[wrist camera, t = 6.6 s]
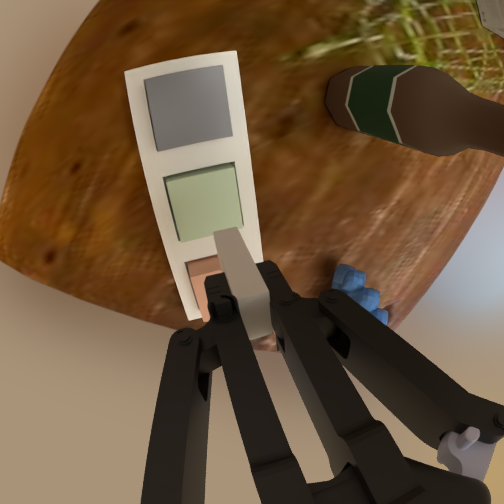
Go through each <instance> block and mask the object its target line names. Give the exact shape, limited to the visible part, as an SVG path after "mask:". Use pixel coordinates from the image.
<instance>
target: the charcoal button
mask: <svg viewBox="0 0 504 504" xmlns="http://www.w3.org/2000/svg"><path fill="white" fill-rule="evenodd" d="M145 83H146V89H147V95H148V101H149V107H150V112H151V118H152V123H153V128H154V133H155V138H156V143H157V148H158V152H160V151H164V150H168V149H173V148H177V147H181V146H186V145H190V144H195V143H200V142H205V141H210V140H215V139H220V138H226V137H232V136H233V133H232V125H231V118H230V111H229V104H228V97H227V90H226V83H225V76H224V69H223V65H218V66H211V67H204V68H198V69H192V70H187V71H181V72H176V73H171V74H166V75H162V76H157V77H153V78H149V79H145Z"/></svg>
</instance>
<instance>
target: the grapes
mask: <svg viewBox="0 0 504 504" xmlns="http://www.w3.org/2000/svg"><path fill="white" fill-rule="evenodd" d="M365 282H366V273H364V272H361V271H358V270H355V268H354V267H352V266H349V265H346V264H340V265H338V266H337V267H336V269H335V272H334V277H333V279H332V286H331V288H334V289H339V290H341V291H343V292H344V293H345V294H347V295H348V296H349V297H351V298H352V299H353V300H354V301H356V302H357V303H358V304H360V305H361V306H362V307H363V308H365V309H366V310H367V311H369V312H370V313H371V314H372V315H374V316H375V317H376V318H377V319H379V320H380V321H381V322H382V323H384V324H385V325H387V321H388V311H386V310H383V309H380V308H377V307H378V305H379V301H380V291H378V290H375V289H373V288H365V287H364V286H365Z"/></svg>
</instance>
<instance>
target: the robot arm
mask: <svg viewBox="0 0 504 504" xmlns="http://www.w3.org/2000/svg"><path fill="white" fill-rule="evenodd" d="M213 235H214V240H215V245H216V250H217V255H218V259H219V264H220V268H221V272H222V273H218V274H213V275H209V276H206V278H205V281H204V287H205V291H206V296H207V301H208V304H207V308H208V311H209V315H210V320H209V321H208V323H207V324H206V325H205V326H203V327H202V328H200V329H198V330H194V329H192V328H183V329H179V330H178V331H176V332H175V333H174V334H173V335H172V336H171V338H170V341H169V345H168V350H167V354H166V359H165V363H164V368H163V373H162V377H161V382H160V387H159V392H158V397H157V402H156V408H155V413H154V419H153V424H152V429H151V435H150V442H149V447H148V454H147V460H146V467H145V474H144V481H143V489H142V497H141V504H204V500H205V477H206V459H207V440H208V424H209V411H210V397H211V384H212V371H213V370H215V369H216V368H218V367H220V366H222V367H223V371H224V375H225V379H226V383H227V386H228V390H229V394H230V398H231V401H232V405H233V409H234V412H235V416H236V420H237V423H238V427H239V430H240V434H241V437H242V440H243V444H244V447H245V450H246V454H247V457H248V460H249V463H250V468H251V472H252V476H253V479H254V482H255V485H256V488H257V491H258V494H259V497H260V500H261V503H262V504H491V496H490V492H489V489H488V488H487V486H486V485H485V484H484V483H483V480H484V478H485V475H486V472H487V470H488V467H489V464H490V461H491V458H492V455H493V452H494V448H495V446H496V443H497V442H498V441H499V440H500V439H501V438H503V437H504V406H503V405H500V404H497V403H495V402H492V401H489V400H487V399H484V398H481V397H478V396H476V395H473V394H470V393H468V392H467V391H466V390H465V389H464V388H462V387H461V386H460V385H459V384H458V383H456V382H455V381H454V380H453V379H451V378H450V377H449V376H448V375H447V374H446V373H444V372H443V371H442V370H441V369H439V368H438V367H437V366H436V365H435V364H433V363H432V362H431V361H430V360H428V359H427V358H426V357H425V356H424V355H422V354H421V353H420V352H419V351H418V350H416V349H415V348H414V347H413V346H411V345H410V344H409V343H408V342H406V341H405V340H404V339H403V338H401V337H400V336H399V335H398V334H396V333H395V332H394V331H393V330H391V329H390V328H389V327H388V326H386V325H385V324H384V323H382V322H381V321H380V320H379V319H377V318H376V317H375V316H374V315H372V314H371V313H370V312H369V311H367V310H366V309H365V308H363V307H362V306H361V305H360V304H358V303H357V302H356V301H354V300H353V299H352V298H351V297H349V296H348V295H347V294H345V293H344V292H343V291H341V290H339V289H326V290H324V291H322V292H321V293H320V295H319V298H302V297H301V296H300V295H299V294H297V293H295V292H293V291H292V290H291V288H290V286H289V285H288V283H287V281H286V280H285V278H284V276H283V275H282V273H281V271H280V270H279V268H278V266H277V265H276V264H275V263H273V262H272V261H270V260H268V261H264V262H260V263H256V264H255V262H254V260H253V258H252V256H251V254H250V252H249V250H248V248H247V246H246V244H245V242H244V240H243V238H242V236H241V234H240V232H239V230H238V228H237V226H236V227H232V228H227V229H223V230H219V231H214V232H213ZM273 329H274V331H275V333H276V343H277V351H279V350H281V353H282V355H283V357H284V359H285V361H286V364H287V366H288V368H289V371H290V373H291V375H292V377H293V380H294V382H295V384H296V386H297V389H298V390H299V393H300V395H301V398H302V400H303V402H304V404H305V406H306V409H307V411H308V413H309V415H310V417H311V420H312V422H313V424H314V426H315V429H316V431H317V433H318V435H319V437H320V440H321V442H322V444H323V446H324V448H325V451H326V453H327V455H328V458H329V462H330V467H331V470H332V472H333V475H334V478H333V479H331V480H329V481H324V482H317V483H309V484H307V483H306V480H305V478H304V476H303V473H302V471H301V468H300V466H299V464H298V461H297V459H296V457H295V456H294V454H293V453H292V451H291V449H290V446H289V444H288V441H287V439H286V436H285V434H284V431H283V429H282V426H281V423H280V421H279V418H278V416H277V413H276V410H275V408H274V405H273V402H272V400H271V397H270V394H269V392H268V389H267V386H266V384H265V381H264V378H263V376H262V373H261V370H260V368H259V365H258V362H257V359H256V356H255V354H254V351H253V348H252V345H251V343H250V340H251V339H255V338H259V337H262V336H266V335H269V334H273ZM279 348H280V349H279ZM342 365H343V366H344V367H345V368H346V369H347V370H348V371H349V372H350V373H352V374H353V375H354V376H355V377H356V378H357V379H358V380H359V381H360V382H361V383H362V384H363V385H364V386H365V387H366V388H367V389H368V390H369V391H370V392H371V393H372V394H373V395H374V396H375V397H376V398H377V399H378V400H379V401H380V402H381V403H382V404H383V405H384V406H385V407H386V408H387V409H388V410H390V411H391V412H392V413H393V414H394V415H395V416H396V417H397V418H398V419H399V420H400V421H401V422H402V423H403V424H404V425H405V426H406V427H407V428H408V429H409V430H410V431H412V432H413V433H414V434H415V435H416V436H417V437H418V438H419V439H420V440H422V441H423V442H424V443H426V444H427V445H429V446H430V447H432V448H434V449H436V450H438V455H437V461H438V462H439V463H441V464H444V465H445V466H447V468H448V469H449V471H450V472H449V471H446V470H442V469H439V468H436V467H433V466H430V465H427V464H424V463H421V462H418V461H415V460H412V459H410V458H407V457H403V455H402V453H401V451H400V450H399V448H398V446H397V445H396V443H395V441H394V439H393V438H392V436H391V434H390V433H389V431H388V429H387V428H386V426H385V425H384V424H383V423H382V422H381V421H378V420H375V419H374V418H373V417H372V416H371V414H370V412H369V410H368V408H367V407H366V405H365V403H364V402H363V400H362V398H361V397H360V395H359V393H358V392H357V390H356V388H355V386H354V385H353V383H352V381H351V380H350V378H349V377H348V375H347V373H346V371H345V369H344V368H343V366H342Z"/></svg>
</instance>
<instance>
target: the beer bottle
mask: <svg viewBox="0 0 504 504" xmlns="http://www.w3.org/2000/svg"><path fill="white" fill-rule="evenodd" d="M325 104H326V106H327V107H328V109H329V111H330V113H331V115H332V117H333V118H334V120H335V122H336V124H337V125H338V126H341V127H344V128H348V129H351V130H354V131H357V132H360V133H363V134H366V135H370V136H373V137H377V138H380V139H384V140H387V141H390V142H394V143H397V144H400V145H403V146H406V147H409V148H412V149H415V150H418V151H421V152H424V153H427V154H431V155H435V156H439V157H440V156H450V155H454V154H457V153H459V152H461V151H463V150H465V149H467V148H471V149H478V150H485V151H488V152H491V153H494V154H497V155H500V156H503V157H504V105H502V104H499V103H496V102H493V101H490V100H487V99H484V98H482V97H479V96H477V95H475V94H472V93H470V92H469V91H468V90H466V89H465V88H464V87H463V86H462V85H461V84H459V83H458V82H457V81H456V80H455V79H453V78H452V77H451V76H449V75H447V74H446V73H444V72H442V71H440V70H438V69H436V68H432V67H426V66H419V65H378V66H358V67H352V68H348V69H346V70H345V71H343V72H341V73H339V74H337V75H336V76H334V77H332V78H330V80H329V85H328V90H327V95H326V99H325Z"/></svg>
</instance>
